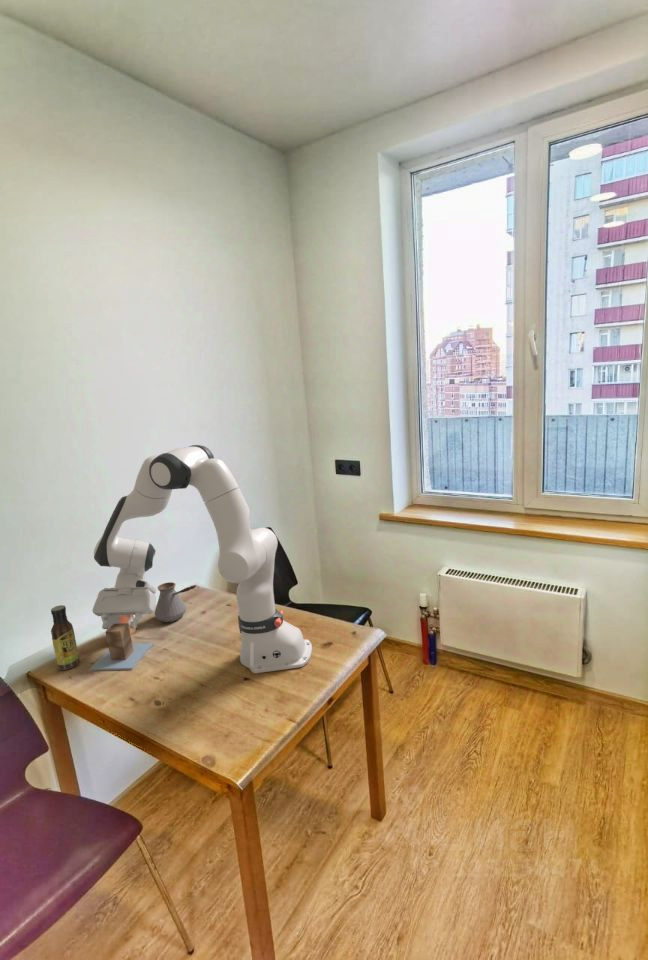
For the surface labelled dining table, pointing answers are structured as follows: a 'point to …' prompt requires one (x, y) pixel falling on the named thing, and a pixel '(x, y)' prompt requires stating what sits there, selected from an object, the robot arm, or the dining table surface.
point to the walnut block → (119, 641)
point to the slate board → (127, 664)
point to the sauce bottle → (63, 639)
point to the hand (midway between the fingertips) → (118, 628)
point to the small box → (121, 621)
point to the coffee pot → (170, 603)
